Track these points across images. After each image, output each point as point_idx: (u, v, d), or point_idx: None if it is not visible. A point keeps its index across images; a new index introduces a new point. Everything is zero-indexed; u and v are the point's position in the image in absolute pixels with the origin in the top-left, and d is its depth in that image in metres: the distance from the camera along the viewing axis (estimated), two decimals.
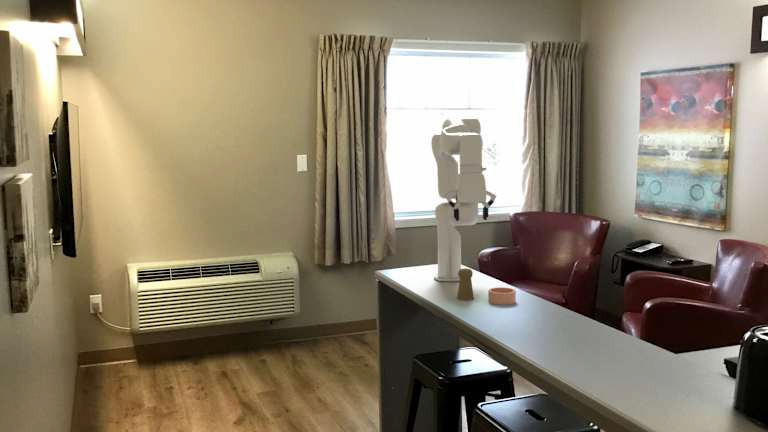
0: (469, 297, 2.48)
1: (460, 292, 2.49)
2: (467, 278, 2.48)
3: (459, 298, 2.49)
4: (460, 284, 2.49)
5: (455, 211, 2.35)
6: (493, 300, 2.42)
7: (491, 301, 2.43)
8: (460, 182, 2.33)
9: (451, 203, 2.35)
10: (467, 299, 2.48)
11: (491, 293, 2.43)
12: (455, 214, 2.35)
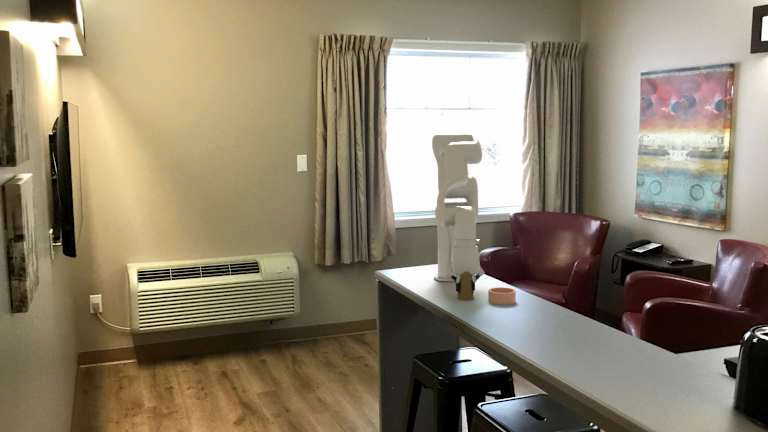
0: (469, 297, 2.48)
1: (460, 292, 2.49)
2: (467, 278, 2.48)
3: (459, 298, 2.49)
4: None
5: (457, 285, 2.49)
6: (493, 300, 2.42)
7: (491, 301, 2.43)
8: (455, 255, 2.46)
9: (453, 277, 2.49)
10: (467, 299, 2.48)
11: (491, 293, 2.43)
12: (457, 287, 2.49)
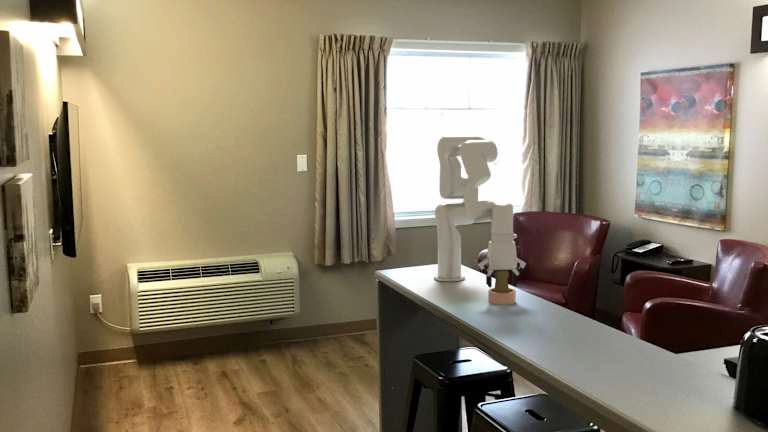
0: None
1: None
2: (504, 279, 2.43)
3: None
4: (496, 285, 2.44)
5: (488, 278, 2.43)
6: (493, 300, 2.42)
7: (491, 301, 2.43)
8: (492, 250, 2.41)
9: (484, 270, 2.43)
10: None
11: (491, 293, 2.43)
12: (488, 281, 2.44)
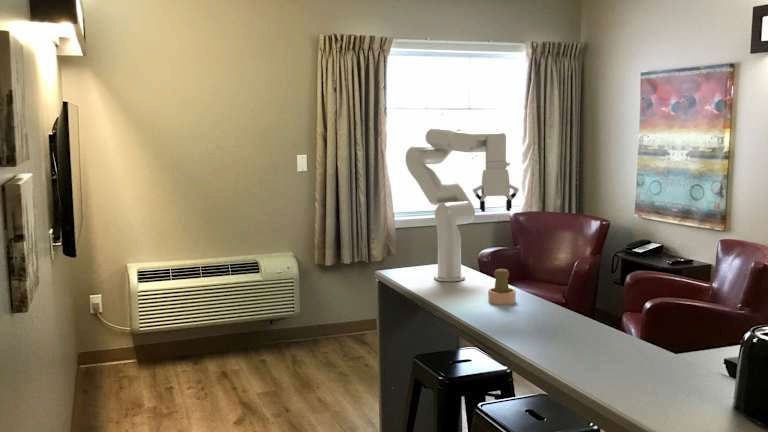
0: None
1: None
2: (504, 279, 2.43)
3: None
4: (496, 285, 2.44)
5: (481, 203, 2.58)
6: (493, 300, 2.42)
7: (491, 301, 2.43)
8: (486, 176, 2.56)
9: (478, 196, 2.58)
10: None
11: (491, 293, 2.43)
12: (481, 206, 2.59)
